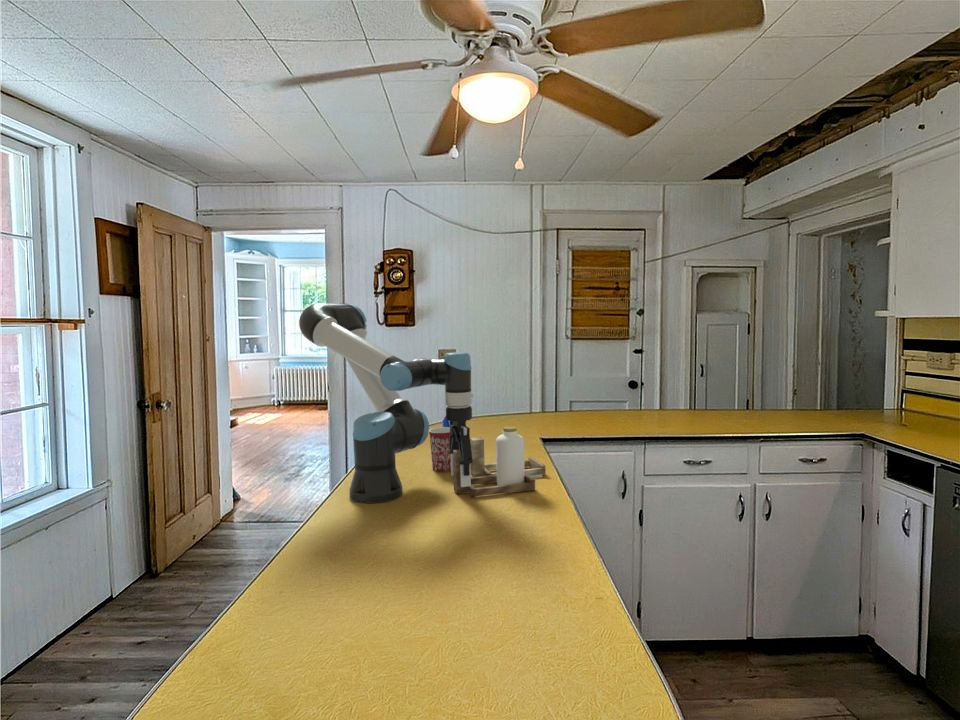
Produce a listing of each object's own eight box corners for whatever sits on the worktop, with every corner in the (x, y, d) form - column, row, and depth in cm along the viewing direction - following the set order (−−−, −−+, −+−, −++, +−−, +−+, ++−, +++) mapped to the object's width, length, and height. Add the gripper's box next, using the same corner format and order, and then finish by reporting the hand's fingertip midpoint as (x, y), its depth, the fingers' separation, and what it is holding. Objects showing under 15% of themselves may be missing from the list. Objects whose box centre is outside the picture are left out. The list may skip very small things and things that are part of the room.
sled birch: (477, 481, 175) (476, 443, 174) (467, 471, 186) (466, 435, 185) (545, 474, 181) (545, 437, 180) (531, 465, 192) (531, 430, 191)
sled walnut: (460, 498, 159) (459, 456, 158) (450, 486, 171) (449, 446, 170) (535, 489, 165) (534, 449, 165) (520, 478, 177) (520, 440, 176)
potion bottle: (513, 493, 164) (512, 431, 163) (491, 488, 169) (490, 428, 168) (530, 486, 170) (529, 426, 169) (508, 481, 176) (506, 423, 174)
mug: (443, 474, 185) (442, 433, 184) (424, 469, 191) (423, 430, 190) (469, 466, 195) (468, 427, 194) (450, 462, 201) (449, 424, 200)
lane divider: (494, 482, 175) (494, 479, 175) (493, 481, 176) (493, 479, 176) (542, 477, 179) (542, 474, 179) (541, 476, 180) (541, 474, 180)
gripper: (482, 411, 153) (484, 490, 155) (461, 399, 176) (463, 469, 178) (455, 413, 151) (457, 493, 153) (437, 401, 174) (439, 471, 176)
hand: (460, 480), depth 165 cm, fingers open, 11 cm apart
